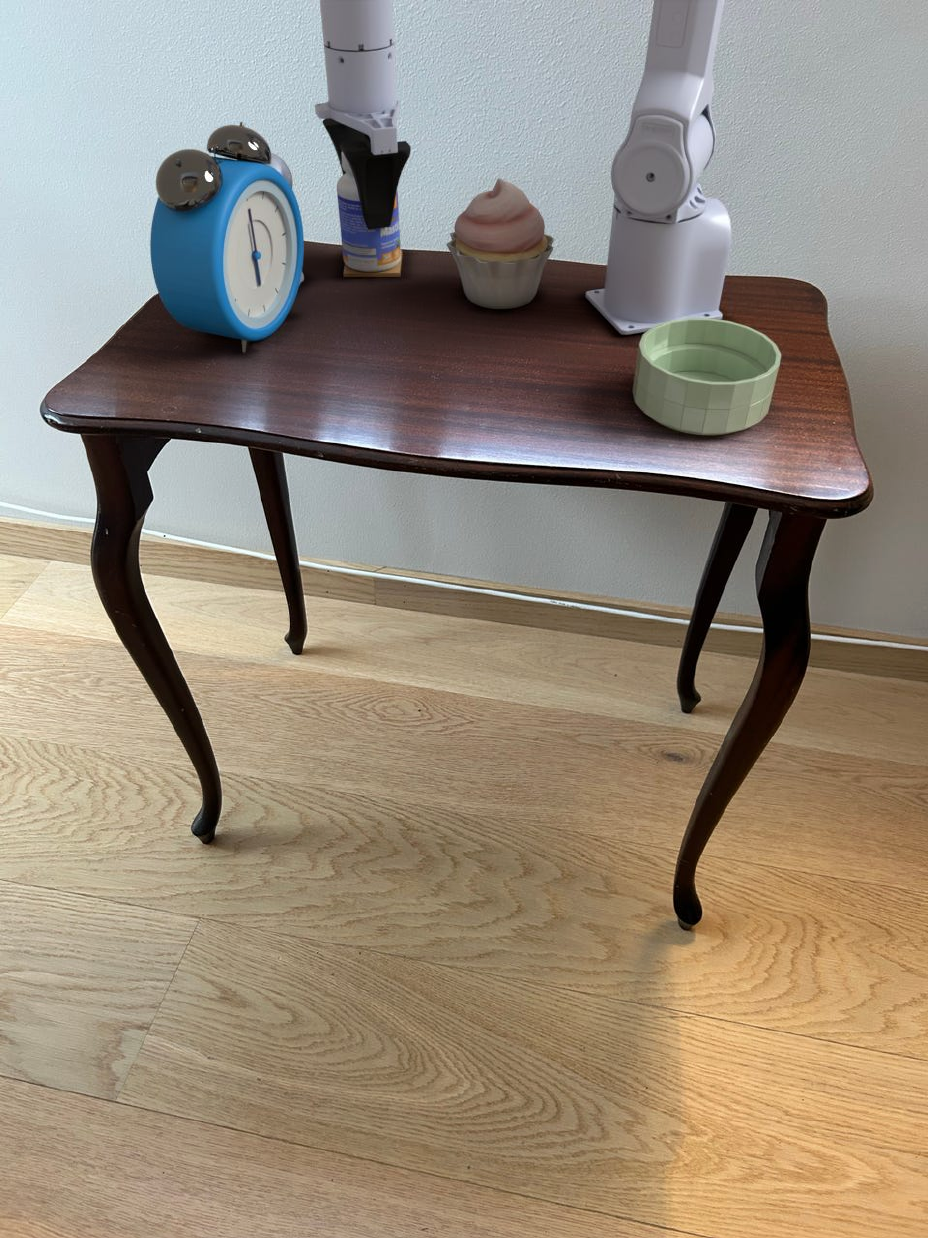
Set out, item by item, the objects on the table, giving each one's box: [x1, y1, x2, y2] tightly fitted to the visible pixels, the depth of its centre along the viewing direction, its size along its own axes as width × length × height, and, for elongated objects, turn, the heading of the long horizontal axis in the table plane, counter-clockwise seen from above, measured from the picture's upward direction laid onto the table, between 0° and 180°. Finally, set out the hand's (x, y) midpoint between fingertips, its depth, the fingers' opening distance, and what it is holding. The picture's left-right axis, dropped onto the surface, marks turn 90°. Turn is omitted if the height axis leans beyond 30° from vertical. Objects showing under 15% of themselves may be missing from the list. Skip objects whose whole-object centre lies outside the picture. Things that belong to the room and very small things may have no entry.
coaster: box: [342, 249, 403, 278], centre depth 90 cm, size 5×5×1 cm
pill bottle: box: [336, 152, 402, 272], centre depth 86 cm, size 5×5×10 cm
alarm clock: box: [149, 121, 305, 354], centre depth 75 cm, size 13×6×15 cm, turn 158°
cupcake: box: [446, 177, 555, 310], centre depth 81 cm, size 9×9×10 cm
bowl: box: [632, 318, 782, 436], centre depth 70 cm, size 10×10×4 cm
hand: (370, 214), depth 86 cm, fingers closed on pill bottle, 5 cm apart
